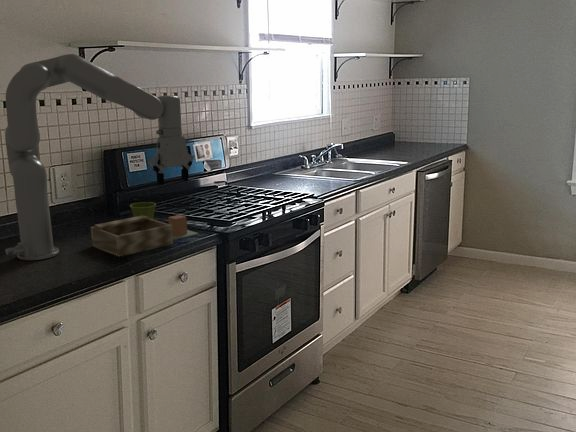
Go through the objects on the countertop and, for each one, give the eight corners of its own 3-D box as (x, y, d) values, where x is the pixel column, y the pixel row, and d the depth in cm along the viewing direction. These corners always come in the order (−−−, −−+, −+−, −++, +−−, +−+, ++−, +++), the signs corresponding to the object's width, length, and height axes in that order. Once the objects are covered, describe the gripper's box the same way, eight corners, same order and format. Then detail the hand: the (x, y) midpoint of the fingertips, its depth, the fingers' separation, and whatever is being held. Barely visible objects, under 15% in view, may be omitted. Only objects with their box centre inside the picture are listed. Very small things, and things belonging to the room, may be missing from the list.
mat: (174, 240, 222) (174, 238, 222) (158, 234, 230) (158, 233, 229) (198, 234, 229) (198, 233, 229) (182, 229, 236) (182, 228, 236)
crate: (119, 256, 204) (117, 234, 203) (92, 246, 217) (90, 224, 216) (173, 244, 217) (171, 222, 216) (145, 234, 230) (143, 214, 229)
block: (176, 236, 226) (175, 219, 224) (169, 233, 229) (168, 217, 228) (187, 233, 229) (186, 216, 227) (180, 231, 232) (179, 214, 231)
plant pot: (146, 223, 247) (144, 200, 245) (162, 226, 241) (161, 203, 239) (126, 228, 240) (124, 205, 238) (142, 232, 234) (140, 208, 232)
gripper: (154, 135, 212) (157, 187, 216) (198, 131, 224) (200, 180, 228) (142, 133, 218) (145, 184, 222) (185, 130, 229) (188, 178, 233)
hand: (173, 182), depth 225 cm, fingers open, 9 cm apart
